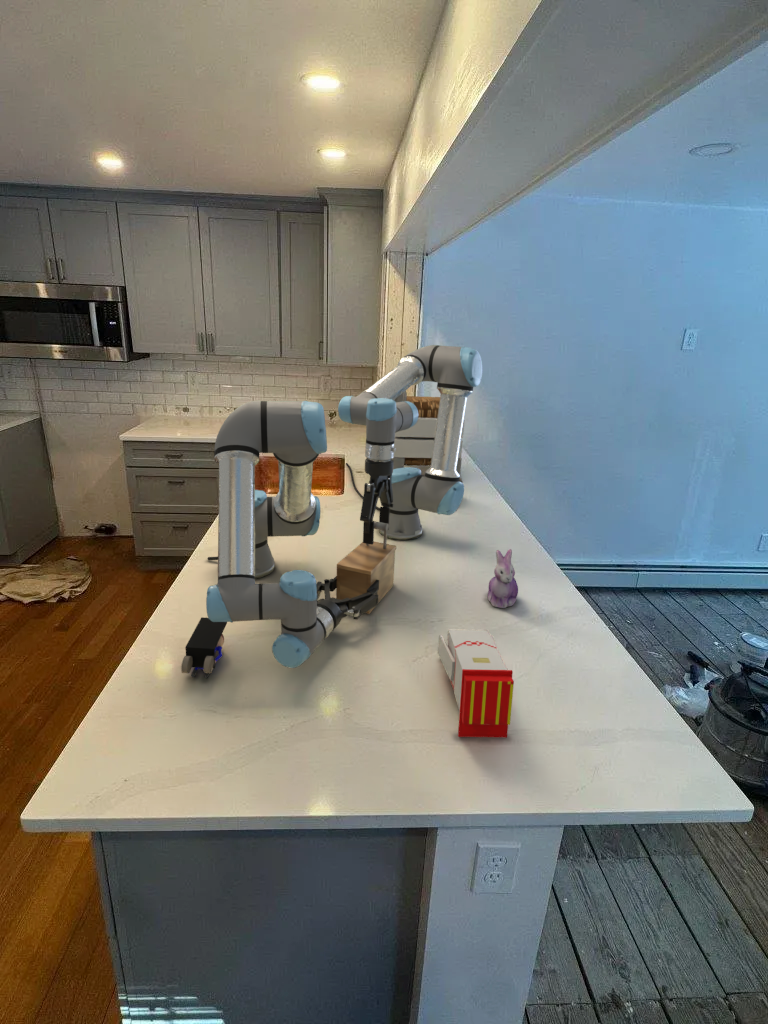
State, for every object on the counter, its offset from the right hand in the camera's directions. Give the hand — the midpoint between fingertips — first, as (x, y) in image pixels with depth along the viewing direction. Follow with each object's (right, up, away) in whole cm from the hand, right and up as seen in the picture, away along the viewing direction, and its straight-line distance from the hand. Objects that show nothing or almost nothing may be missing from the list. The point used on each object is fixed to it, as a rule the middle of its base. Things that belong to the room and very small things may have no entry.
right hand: (376, 536), depth 157 cm
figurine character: (-37, -26, -33) cm, 56 cm away
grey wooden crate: (+19, +25, +118) cm, 123 cm away
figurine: (+35, -18, 0) cm, 39 cm away
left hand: (-4, -11, -7) cm, 14 cm away
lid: (-2, -6, -4) cm, 7 cm away
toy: (+20, -31, -38) cm, 53 cm away
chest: (-3, -16, 0) cm, 17 cm away
